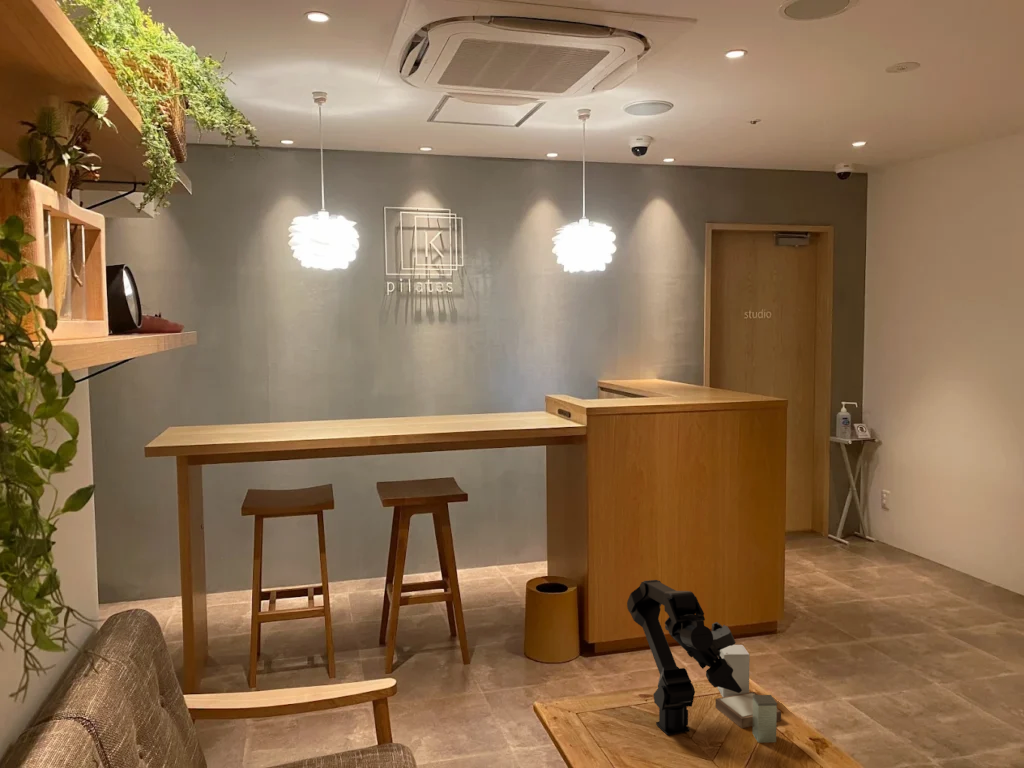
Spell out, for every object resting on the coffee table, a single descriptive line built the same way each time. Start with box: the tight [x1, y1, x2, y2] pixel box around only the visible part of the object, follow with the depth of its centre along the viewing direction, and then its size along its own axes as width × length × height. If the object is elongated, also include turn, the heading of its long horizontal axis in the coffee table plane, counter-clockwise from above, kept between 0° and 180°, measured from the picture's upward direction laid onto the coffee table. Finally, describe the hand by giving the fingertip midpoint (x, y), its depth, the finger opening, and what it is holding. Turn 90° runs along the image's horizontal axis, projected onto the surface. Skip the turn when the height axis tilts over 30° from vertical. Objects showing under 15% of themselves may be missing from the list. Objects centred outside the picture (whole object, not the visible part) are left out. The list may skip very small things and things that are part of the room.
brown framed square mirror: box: [715, 691, 782, 729], centre depth 218 cm, size 12×12×3 cm
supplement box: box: [716, 644, 751, 698], centre depth 230 cm, size 7×7×13 cm
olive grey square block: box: [752, 694, 778, 743], centre depth 206 cm, size 5×5×10 cm
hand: (735, 682), depth 205 cm, fingers open, 9 cm apart
